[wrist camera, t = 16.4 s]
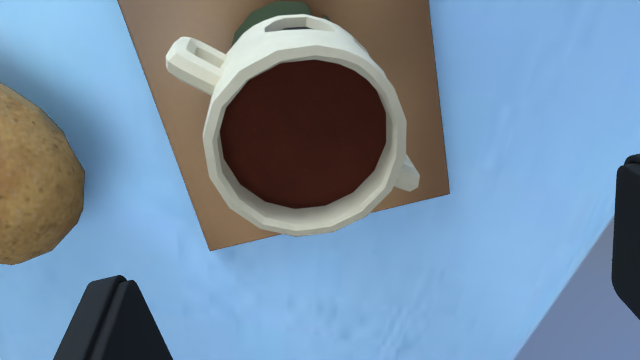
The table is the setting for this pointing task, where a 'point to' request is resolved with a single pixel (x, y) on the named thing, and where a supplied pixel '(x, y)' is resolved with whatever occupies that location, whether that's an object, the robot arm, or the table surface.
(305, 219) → the character mug
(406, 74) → the placemat
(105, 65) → the table surface
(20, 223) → the potato
